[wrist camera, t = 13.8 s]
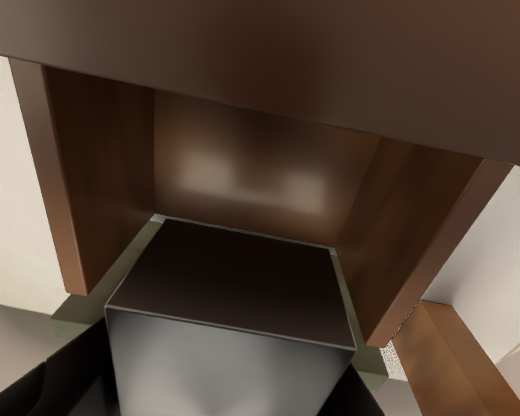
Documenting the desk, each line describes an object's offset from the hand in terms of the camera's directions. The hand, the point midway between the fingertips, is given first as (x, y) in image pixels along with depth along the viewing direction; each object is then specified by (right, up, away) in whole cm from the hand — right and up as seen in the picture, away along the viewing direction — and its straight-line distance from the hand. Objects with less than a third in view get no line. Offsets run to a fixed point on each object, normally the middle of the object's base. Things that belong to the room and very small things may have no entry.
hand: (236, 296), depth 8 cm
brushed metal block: (0, 0, -1) cm, 1 cm away
